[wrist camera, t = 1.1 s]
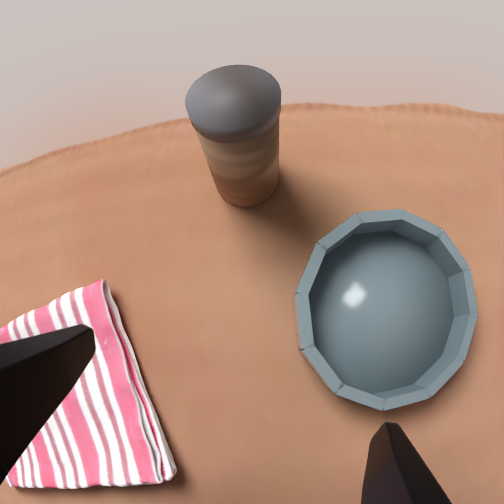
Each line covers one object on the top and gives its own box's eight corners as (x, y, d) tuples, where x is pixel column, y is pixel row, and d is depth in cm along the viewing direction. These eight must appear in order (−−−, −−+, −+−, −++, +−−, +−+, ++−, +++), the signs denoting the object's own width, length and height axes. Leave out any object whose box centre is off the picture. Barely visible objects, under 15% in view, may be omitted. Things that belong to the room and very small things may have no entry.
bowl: (362, 434, 19) (374, 446, 16) (257, 293, 23) (255, 286, 20) (480, 320, 21) (500, 316, 18) (388, 195, 24) (401, 178, 21)
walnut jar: (238, 220, 24) (216, 146, 15) (202, 174, 26) (169, 92, 16) (293, 184, 25) (301, 99, 15) (254, 141, 26) (244, 54, 17)
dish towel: (189, 471, 20) (176, 488, 16) (15, 483, 19) (-4, 490, 15) (117, 278, 24) (96, 268, 21) (-29, 344, 23) (-49, 342, 20)
